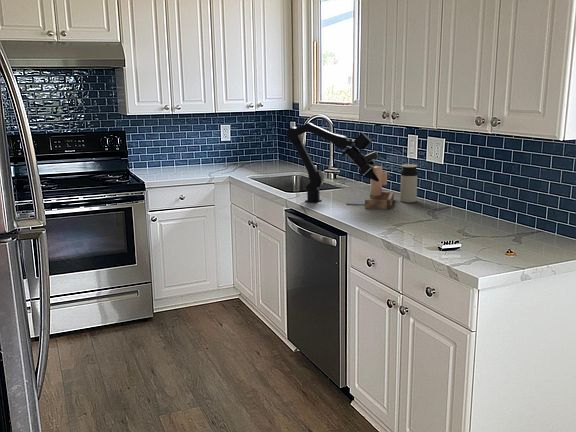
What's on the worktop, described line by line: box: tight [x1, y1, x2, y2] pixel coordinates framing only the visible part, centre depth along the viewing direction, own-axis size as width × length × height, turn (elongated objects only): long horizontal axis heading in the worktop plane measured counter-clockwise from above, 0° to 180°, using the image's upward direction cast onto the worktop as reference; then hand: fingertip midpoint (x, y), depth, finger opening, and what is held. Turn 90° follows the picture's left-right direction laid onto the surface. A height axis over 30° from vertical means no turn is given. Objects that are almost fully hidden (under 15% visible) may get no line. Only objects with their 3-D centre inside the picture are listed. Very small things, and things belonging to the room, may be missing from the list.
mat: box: [346, 199, 365, 206], centre depth 280 cm, size 10×10×1 cm
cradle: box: [364, 190, 395, 210], centre depth 277 cm, size 12×23×4 cm, turn 165°
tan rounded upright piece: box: [369, 165, 388, 196], centre depth 275 cm, size 8×6×14 cm
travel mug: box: [399, 163, 418, 204], centre depth 280 cm, size 8×8×18 cm
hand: (379, 180), depth 275 cm, fingers closed on tan rounded upright piece, 5 cm apart
